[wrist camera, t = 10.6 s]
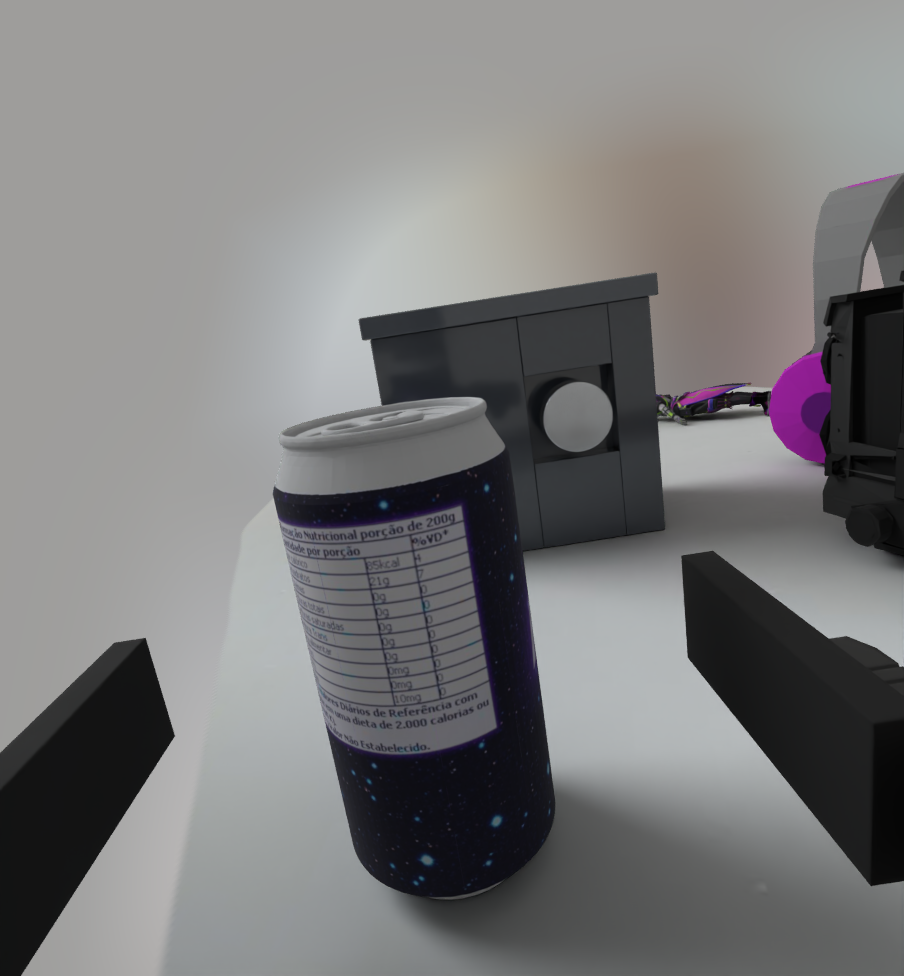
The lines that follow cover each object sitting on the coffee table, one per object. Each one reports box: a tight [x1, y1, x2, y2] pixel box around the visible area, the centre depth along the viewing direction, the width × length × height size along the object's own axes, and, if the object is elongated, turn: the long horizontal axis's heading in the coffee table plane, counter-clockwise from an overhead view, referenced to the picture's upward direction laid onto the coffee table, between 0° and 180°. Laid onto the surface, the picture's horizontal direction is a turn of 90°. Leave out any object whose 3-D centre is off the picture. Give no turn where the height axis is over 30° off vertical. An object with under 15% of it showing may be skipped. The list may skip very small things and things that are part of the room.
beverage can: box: [273, 397, 555, 900], centre depth 16 cm, size 6×6×12 cm
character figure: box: [656, 383, 771, 425], centre depth 71 cm, size 9×4×16 cm
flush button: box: [539, 380, 613, 452], centre depth 35 cm, size 4×1×4 cm, turn 92°
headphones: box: [769, 173, 904, 464], centre depth 49 cm, size 21×9×20 cm, turn 132°
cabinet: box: [359, 273, 665, 551], centre depth 41 cm, size 17×11×15 cm, turn 92°
